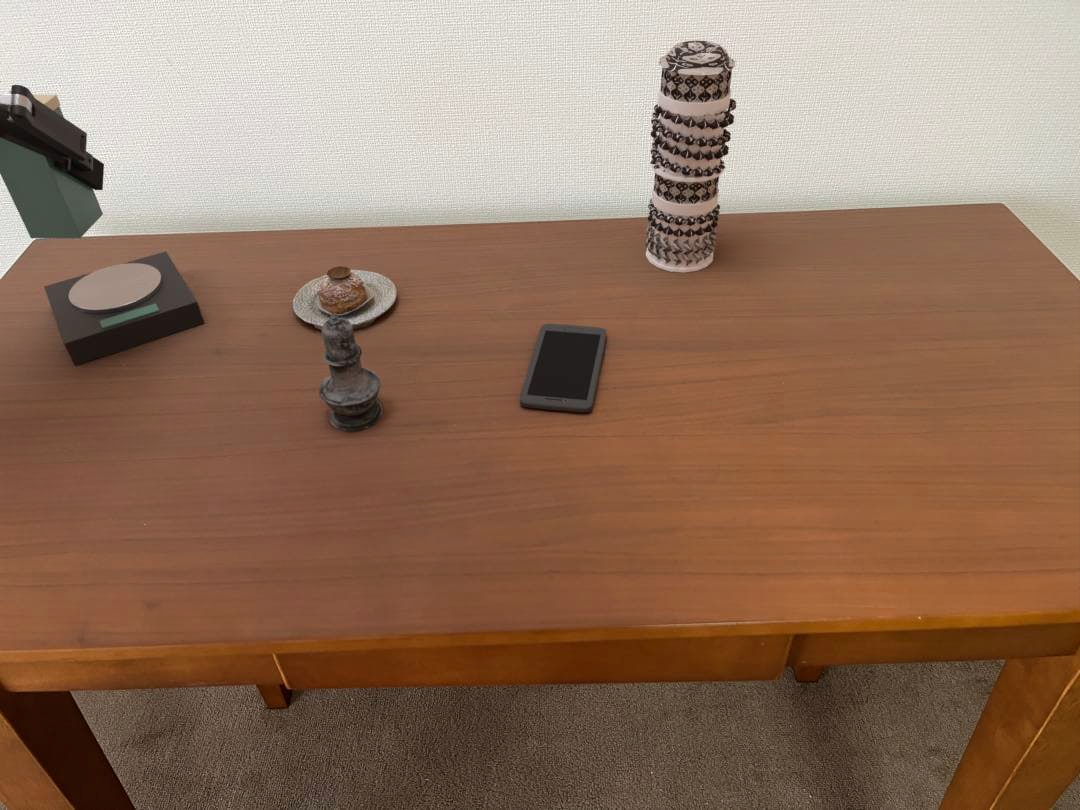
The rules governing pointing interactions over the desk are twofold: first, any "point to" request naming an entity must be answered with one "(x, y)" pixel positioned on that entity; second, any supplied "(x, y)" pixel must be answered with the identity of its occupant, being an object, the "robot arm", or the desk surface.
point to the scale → (125, 315)
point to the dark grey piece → (348, 380)
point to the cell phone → (564, 368)
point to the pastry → (345, 297)
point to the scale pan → (115, 288)
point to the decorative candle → (689, 155)
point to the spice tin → (47, 190)
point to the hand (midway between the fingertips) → (71, 177)
